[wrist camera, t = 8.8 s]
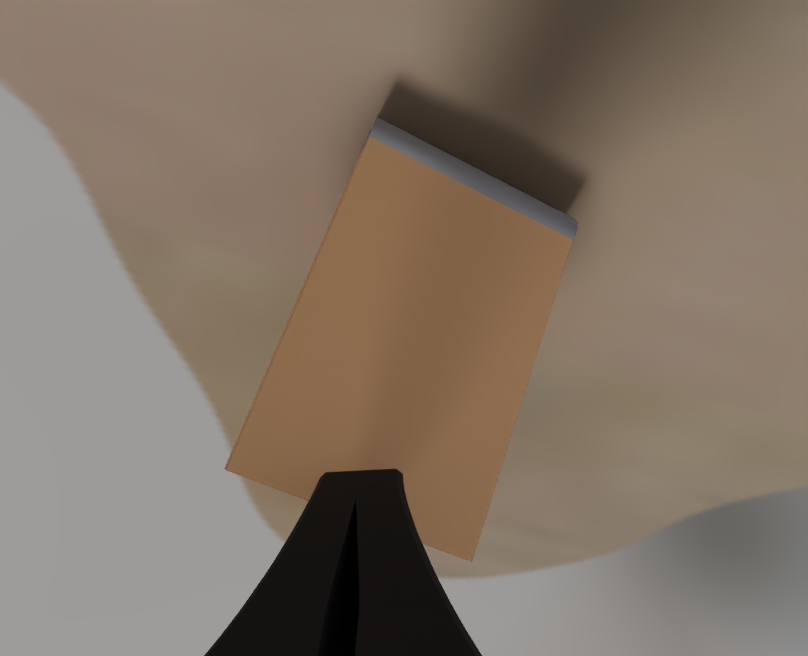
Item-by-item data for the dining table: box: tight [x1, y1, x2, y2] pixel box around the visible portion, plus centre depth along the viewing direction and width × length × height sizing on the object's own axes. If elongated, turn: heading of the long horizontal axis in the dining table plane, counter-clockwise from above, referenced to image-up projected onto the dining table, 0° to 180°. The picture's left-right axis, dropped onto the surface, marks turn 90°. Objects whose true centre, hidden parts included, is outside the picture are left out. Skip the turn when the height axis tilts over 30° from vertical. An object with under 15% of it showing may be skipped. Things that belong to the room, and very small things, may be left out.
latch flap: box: [225, 117, 578, 562], centre depth 14 cm, size 5×8×1 cm
